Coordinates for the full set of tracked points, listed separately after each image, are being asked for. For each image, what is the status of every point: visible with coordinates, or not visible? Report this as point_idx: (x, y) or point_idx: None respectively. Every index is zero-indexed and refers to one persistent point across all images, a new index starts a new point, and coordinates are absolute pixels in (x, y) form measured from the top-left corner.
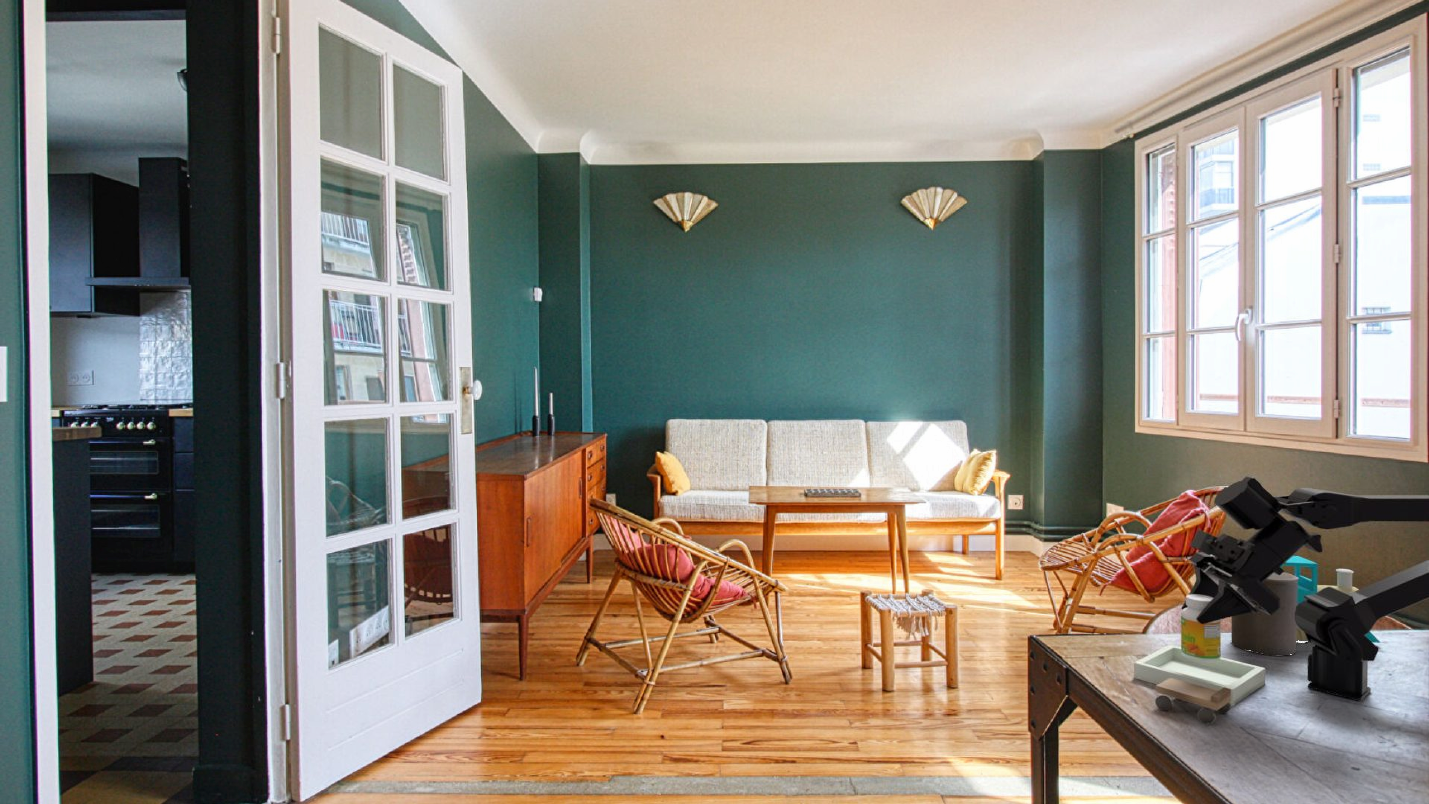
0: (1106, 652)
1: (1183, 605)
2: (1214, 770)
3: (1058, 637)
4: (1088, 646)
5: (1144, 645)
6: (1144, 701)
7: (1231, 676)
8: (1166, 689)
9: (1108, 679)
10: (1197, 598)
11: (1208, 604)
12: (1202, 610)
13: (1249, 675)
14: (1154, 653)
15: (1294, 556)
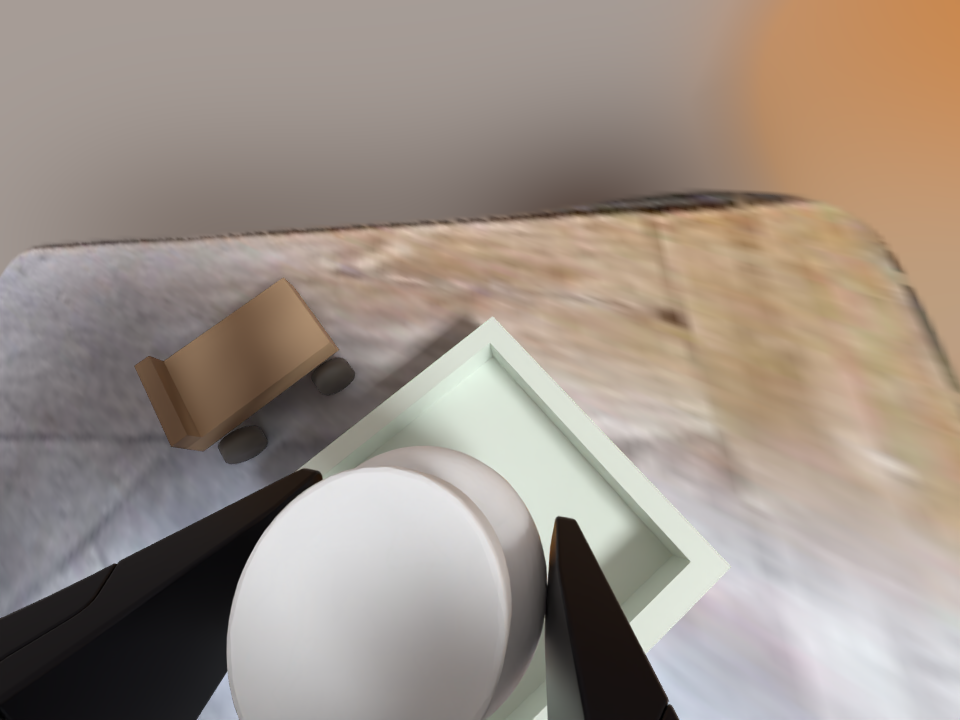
0: (730, 352)
1: (574, 537)
2: (61, 276)
3: (868, 258)
4: (786, 319)
5: (873, 543)
6: (343, 293)
7: None
8: (261, 294)
9: (483, 268)
10: (334, 552)
11: (187, 561)
12: (261, 511)
13: None
14: (595, 430)
15: None
